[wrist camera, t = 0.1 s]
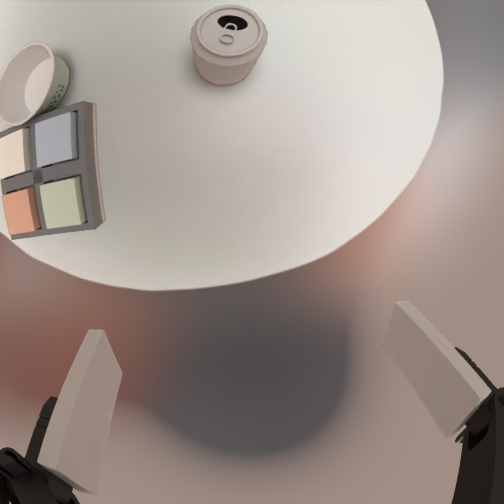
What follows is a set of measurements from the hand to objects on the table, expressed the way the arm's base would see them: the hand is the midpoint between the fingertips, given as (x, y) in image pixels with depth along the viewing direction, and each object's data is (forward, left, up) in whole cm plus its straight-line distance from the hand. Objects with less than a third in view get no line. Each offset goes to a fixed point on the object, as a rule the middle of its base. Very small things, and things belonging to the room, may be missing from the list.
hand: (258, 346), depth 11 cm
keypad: (-7, -26, -28) cm, 39 cm away
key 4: (-11, -30, -25) cm, 41 cm away
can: (-20, 0, -28) cm, 34 cm away
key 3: (-11, -22, -25) cm, 35 cm away
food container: (-21, -27, -28) cm, 44 cm away
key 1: (-3, -22, -25) cm, 33 cm away
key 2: (-3, -30, -25) cm, 39 cm away
